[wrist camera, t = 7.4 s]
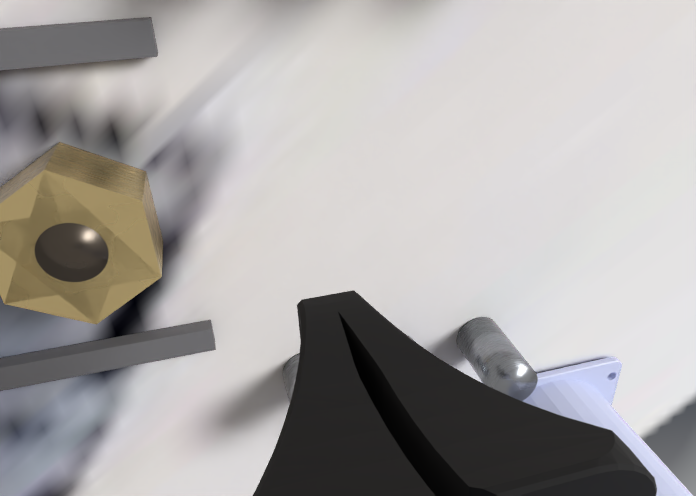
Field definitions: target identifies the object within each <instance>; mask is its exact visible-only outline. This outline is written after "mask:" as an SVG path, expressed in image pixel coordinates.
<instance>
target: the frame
mask: <svg viewBox="0 0 696 496" xmlns="http://www.w3.org/2000/svg"><path fill="white" fill-rule="evenodd" d="M157 56H158V50H157V45H156V40H155V35H154V30H153V25H152V20H151V17H148V18H134V19H121V20H108V21H94V22H81V23H68V24H54V25H41V26H27V27H14V28H1V29H0V70H11V69H22V68H33V67H44V66H56V65H67V64H78V63H90V62H101V61H112V60H124V59H135V58H146V57H157ZM211 350H216V349H215V339H214V334H213V329H212V324H211V320H208V321H202V322H197V323H191V324H186V325H180V326H175V327H169V328H164V329H158V330H152V331H147V332H141V333H136V334H130V335H125V336H119V337H114V338H108V339H103V340H97V341H92V342H86V343H81V344H75V345H70V346H64V347H59V348H53V349H48V350H42V351H37V352H31V353H26V354H20V355H14V356H9V357H3V358H0V391H3V390H8V389H13V388H18V387H23V386H29V385H34V384H39V383H44V382H49V381H55V380H60V379H65V378H70V377H76V376H81V375H86V374H91V373H96V372H102V371H107V370H112V369H117V368H122V367H128V366H133V365H138V364H143V363H149V362H154V361H159V360H164V359H169V358H175V357H180V356H185V355H190V354H195V353H201V352H206V351H211Z"/></svg>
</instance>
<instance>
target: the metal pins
mask: <svg viewBox="0 0 696 496" xmlns="http://www.w3.org/2000/svg"><path fill="white" fill-rule="evenodd" d="M408 337H409V336H408ZM409 338H411V337H409ZM411 339H412V338H411ZM412 340H413V339H412ZM457 344H458V346H459V348H460V349H461V351H462V352H463V354H464V355H465V357H466V358H467V360H468V361H469V363H470V364H471V366H472V367H473V369H474V370H475V372H476V373H477V375H478V376H479V378H480V379H481V381H482V382H483V384H485V385H487V386H489V387H491V388H493V389H495V390H498V391H500V392H502V393H504V394H506V395H509V396H511V397H513V398H515V399H518V400H520V401H523V400H525V399H526V398H527V397H528V396H530V395H531V393H532V392H533V391H534V389H535V388H536V385H537V381H538V377H537V374H536V373H535V371H534V370H533V369H532V368H531V366H530V365H529V364H528V363H527V361H526V360H525V359H524V358H523V356H522V355H521V354H520V353H519V351H518V350H517V349H516V348H515V347H514V345H513V344H512V343H511V342H510V340H509V339H508V338H507V337H506V335H505V334H504V333H503V332H502V330H501V329H500V328H499V327H498V325H497V324H496V323H495V322H494V321H493V320H492V319H490V318H487V317H480V318H476V319H473V320H471V321H469V322H468V323H466V324H465V325H464V326H463V327H462V328H461V330H460V332H459V334H458V336H457ZM299 357H300V354H298V355H296V356H294V357H292V358H291V359H290V360H289V361H288V362H287V363H286V365H285V367H284V370H283V377H284V381H285V385H286V390H287V394H288V398H289V402H291V398H292V394H293V390H294V385H295V380H296V375H297V369H298V364H299Z"/></svg>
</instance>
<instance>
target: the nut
mask: <svg viewBox="0 0 696 496" xmlns="http://www.w3.org/2000/svg"><path fill="white" fill-rule="evenodd" d="M162 254H163V240H162V236H161V231H160V227H159V223H158V219H157V215H156V211H155V207H154V203H153V198H152V194H151V190H150V186H149V182H148V178H147V174H146V171H143V170H140V169H137V168H134V167H131V166H128V165H125V164H122V163H119V162H116V161H113V160H110V159H107V158H105V157H102V156H99V155H96V154H93V153H90V152H87V151H84V150H81V149H78V148H75V147H72V146H69V145H66V144H63V143H60V142H59V143H58V144H56V145H55V146H54V147H53V148H51V149H50V150H49V151H47V152H46V153H45V154H43V155H42V156H41V157H40V158H38V159H37V160H36V161H34V162H33V163H32V164H30V165H29V166H28V167H26V168H25V169H24V170H23V171H21V172H20V173H19V174H17V175H16V176H15V177H13V178H12V179H11V180H10V181H8V182H7V183H6V184H4V185H3V186H2V187H0V295H1V298H2V300H3V302H4V304H7V305H11V306H16V307H20V308H25V309H29V310H34V311H38V312H43V313H47V314H52V315H56V316H61V317H65V318H70V319H74V320H79V321H83V322H88V323H93V324H98V323H99V322H100V321H102V320H103V319H104V318H106V317H107V316H108V315H110V314H111V313H113V312H114V311H115V310H117V309H118V308H119V307H121V306H122V305H124V304H125V303H126V302H128V301H129V300H130V299H132V298H133V297H135V296H136V295H137V294H139V293H140V292H141V291H143V290H144V289H146V288H147V287H148V286H150V285H151V284H152V283H154V282H155V281H157V280H158V279H159V278H161V276H162Z"/></svg>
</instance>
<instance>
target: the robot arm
mask: <svg viewBox="0 0 696 496" xmlns="http://www.w3.org/2000/svg"><path fill="white" fill-rule="evenodd" d="M297 309H298V318H299V328H300V338H301V345H300V357H299V364H298V369H297V375H296V380H295V385H294V390H293V394H292V398H291V402H290V405H289V409H288V412H287V416H286V419H285V422H284V425H283V428H282V430H281V433H280V436H279V439H278V442H277V444H276V447H275V449H274V452H273V454H272V457H271V459H270V461H269V463H268V465H267V467H266V470H265V472H264V474H263V476H262V478H261V480H260V483H259V485H258V487H257V489H256V491H255V493H254V494H253V496H693V495H692V494H691V493H690V492H689V491H688V490H687V488H686V487H685V486H684V485H683V484H682V483H681V482H680V481H679V480H678V479H677V478H676V476H675V475H674V474H673V473H672V472H671V471H670V470H669V469H668V468H667V466H666V465H665V464H664V463H663V462H662V461H661V460H660V459H659V458H658V457H657V456H656V454H655V453H654V452H653V451H652V450H651V449H650V448H649V447H648V445H647V444H646V443H645V442H644V441H643V440H642V439H641V438H640V437H639V436H638V434H637V433H636V432H635V431H634V430H633V429H632V428H631V427H630V426H629V425H628V423H627V422H626V421H625V420H624V419H623V418H622V417H621V416H620V415H619V414H618V412H617V411H616V410H615V409H614V408H613V407H612V406H611V405H612V401H613V398H614V394H615V390H616V386H617V382H618V378H619V375H620V371H621V367H622V363H621V362H620V361H619V360H618V359H617V358H616V357H608V358H604V359H600V360H595V361H591V362H586V363H582V364H577V365H573V366H568V367H564V368H560V369H555V370H551V371H546V372H542V373H537V377H538V381H537V385H536V388H535V389H534V391H533V392H532V393H531V395H530V396H528V397H527V398H526V399H525V400H523V401H520V400H518V399H515V398H513V397H511V396H509V395H506V394H504V393H502V392H500V391H498V390H495V389H493V388H491V387H489V386H487V385H485V384H483V383H481V382H479V381H477V380H475V379H473V378H471V377H469V376H468V375H466V374H464V373H462V372H461V371H459V370H457V369H455V368H453V367H452V366H450V365H448V364H447V363H445V362H443V361H442V360H440V359H439V358H437V357H436V356H434V355H433V354H431V353H430V352H428V351H427V350H426V349H424V348H423V347H421V346H420V345H419V344H417V343H416V342H415V341H413V340H412V339H411V338H409V337H408V336H407V335H406V334H404V333H403V332H402V331H400V330H399V329H398V328H397V327H395V326H394V325H393V324H392V323H390V322H389V321H388V320H387V319H386V318H385V317H383V316H382V315H381V314H380V313H379V312H378V311H377V310H375V309H374V308H373V307H372V306H371V305H370V304H369V303H368V302H366V301H365V300H364V299H363V298H362V297H361V296H360V295H359V294H358V293H356V292H355V291H348V292H342V293H337V294H331V295H326V296H320V297H315V298H309V299H304V300H301V301H300V302H299V303H298V305H297Z"/></svg>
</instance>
